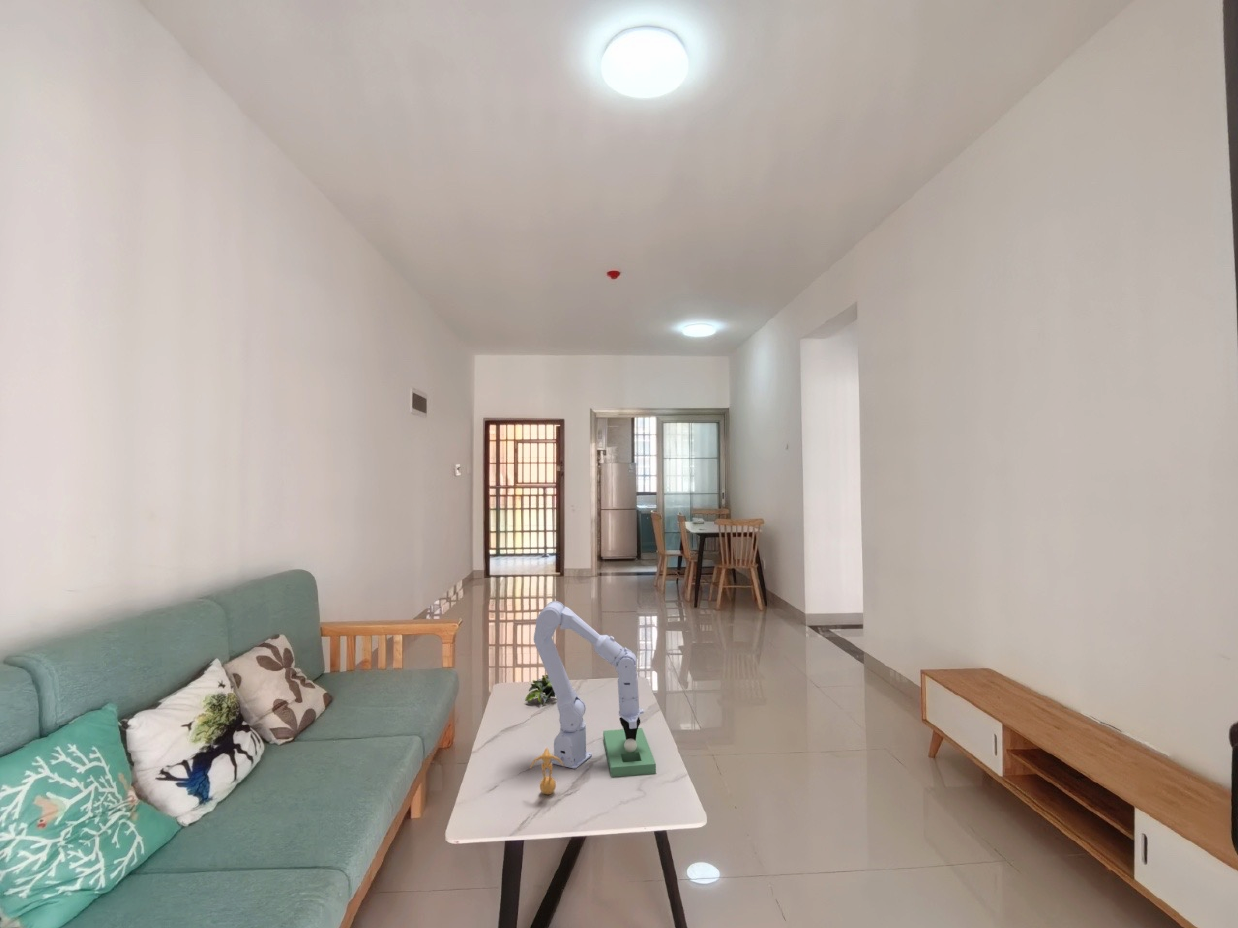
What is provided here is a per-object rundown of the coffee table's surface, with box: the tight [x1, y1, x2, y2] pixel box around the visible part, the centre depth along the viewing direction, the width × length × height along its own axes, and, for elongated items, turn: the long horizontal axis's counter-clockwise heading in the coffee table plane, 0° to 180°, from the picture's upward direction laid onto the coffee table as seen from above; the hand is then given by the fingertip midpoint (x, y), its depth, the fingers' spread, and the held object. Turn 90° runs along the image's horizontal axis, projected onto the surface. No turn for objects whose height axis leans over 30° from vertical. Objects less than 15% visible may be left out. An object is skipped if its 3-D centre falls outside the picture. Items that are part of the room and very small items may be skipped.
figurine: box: [529, 747, 565, 796], centre depth 149 cm, size 8×6×12 cm
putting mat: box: [602, 727, 657, 778], centre depth 170 cm, size 24×12×2 cm, turn 7°
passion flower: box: [524, 674, 556, 707], centre depth 213 cm, size 11×11×12 cm
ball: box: [624, 738, 637, 753], centre depth 166 cm, size 4×4×4 cm
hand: (631, 744), depth 168 cm, fingers closed, pressing on ball
